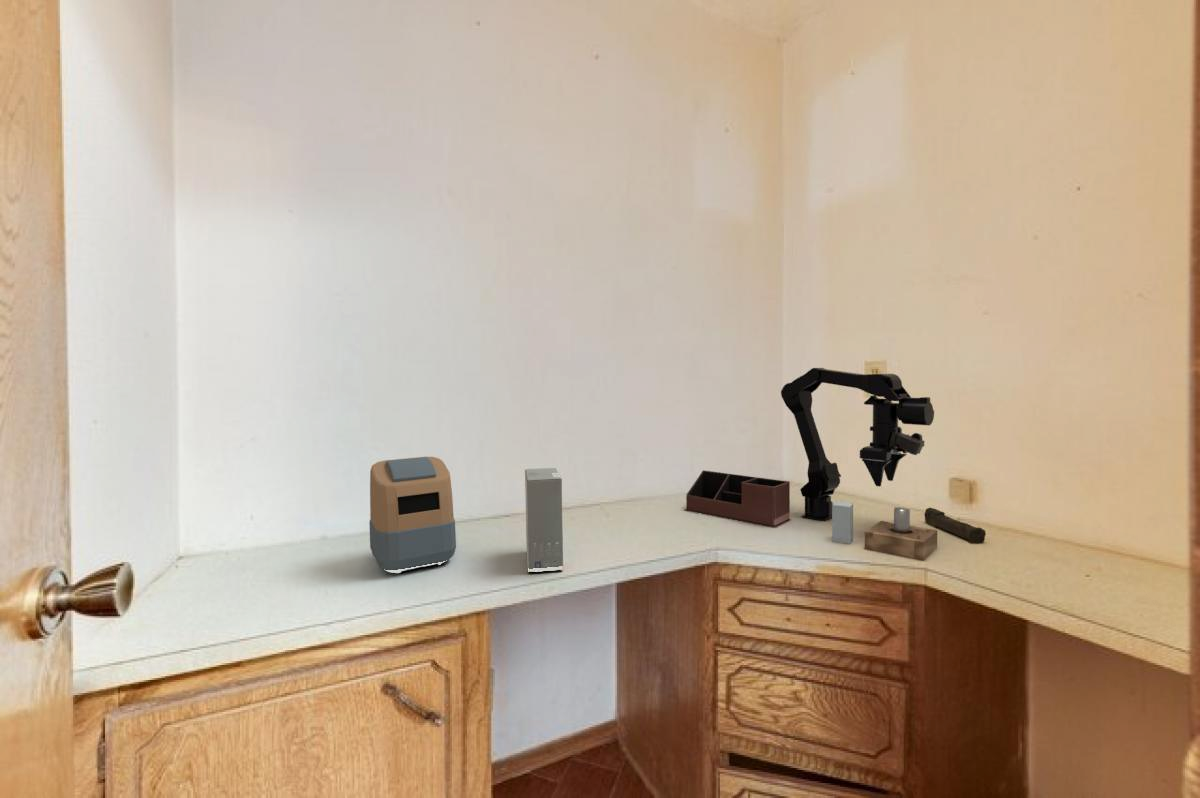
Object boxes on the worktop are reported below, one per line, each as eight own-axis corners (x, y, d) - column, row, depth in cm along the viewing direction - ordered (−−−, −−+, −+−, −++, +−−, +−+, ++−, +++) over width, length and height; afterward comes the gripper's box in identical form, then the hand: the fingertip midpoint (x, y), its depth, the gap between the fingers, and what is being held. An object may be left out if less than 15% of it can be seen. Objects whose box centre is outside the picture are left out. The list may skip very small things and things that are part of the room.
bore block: (864, 548, 123) (864, 531, 123) (881, 536, 131) (881, 520, 131) (923, 560, 114) (923, 542, 114) (937, 547, 123) (937, 530, 123)
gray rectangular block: (832, 541, 129) (832, 504, 128) (835, 537, 132) (835, 501, 132) (850, 544, 126) (850, 506, 126) (853, 539, 130) (853, 503, 129)
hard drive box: (564, 572, 112) (562, 478, 111) (527, 575, 110) (525, 480, 110) (557, 548, 127) (556, 466, 126) (525, 551, 126) (523, 468, 125)
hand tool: (986, 544, 125) (987, 525, 125) (970, 544, 125) (970, 525, 125) (935, 522, 144) (935, 505, 144) (920, 523, 144) (920, 506, 144)
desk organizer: (775, 529, 140) (775, 487, 140) (683, 511, 161) (683, 474, 160) (792, 521, 148) (792, 481, 148) (702, 505, 168) (702, 469, 168)
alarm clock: (381, 581, 108) (376, 469, 107) (368, 558, 123) (364, 459, 122) (461, 564, 117) (458, 461, 116) (440, 545, 131) (437, 452, 130)
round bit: (891, 547, 123) (892, 509, 122) (895, 544, 125) (896, 506, 125) (906, 550, 121) (907, 511, 120) (910, 547, 123) (911, 509, 122)
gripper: (909, 427, 122) (908, 494, 123) (931, 421, 136) (930, 482, 136) (859, 425, 130) (858, 487, 131) (884, 419, 143) (883, 476, 144)
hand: (884, 483), depth 135 cm, fingers open, 9 cm apart
